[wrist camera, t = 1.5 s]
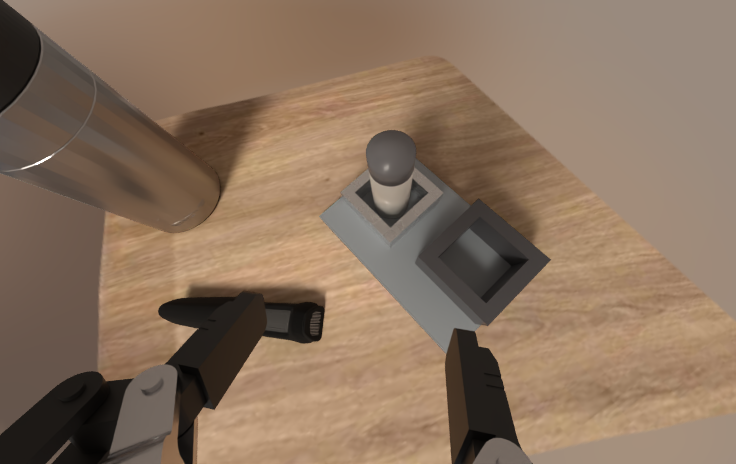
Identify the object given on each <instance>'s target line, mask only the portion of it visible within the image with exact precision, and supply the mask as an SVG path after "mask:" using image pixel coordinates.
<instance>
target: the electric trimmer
mask: <svg viewBox="0 0 736 464" xmlns="http://www.w3.org/2000/svg"><path fill="white" fill-rule="evenodd" d="M236 298H237V297H198V298H180V299H175V300H172V301H169V302H167V303H164V304H163V305H161V306H160V308H159V310H158V312H159V316H161V317H162V318H164V319H166V320H168V321H170V322H172V323H175V324H179V325H184V326H188V327H193V328H198V329H199V327H200V326H201V325H202V324H203V323H204V322H205V321H207V318H208V317H209V316H210V315H211V314H212V313H213V312H214V311H215V310H216V309H217V308H218V307H220V306H222V305H223V304H225V303H226V302H228V301H232V302H233V301H234V300H235V299H236ZM264 304H265V310H266V315H267V326H266V329H265V331H264V333H263V335H262V336H266V337H272V338H279V339H286V340H292V341H296V342H299V343H311V342H313V341H319V340H320V339H321V335H322V328H323V319H324V307H323V306H318V305H317V304H315V303H311V302H305V303H299V304H291V303H266V302H264Z"/></svg>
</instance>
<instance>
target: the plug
mask: <svg viewBox="0 0 736 464" xmlns="http://www.w3.org/2000/svg"><path fill="white" fill-rule="evenodd" d="M366 157H367V163H368V169H369V176H370V182H371V188H372V194H373V200H374V206H375V209H376V211H377V212H378V213H379V214H380V215H381V216H383V217H385V218H388V219H394V218H398V217H400V216H402V215H403V214H404V213H405V212H406V210H407V208H408V205H409V198H410V191H411V185H412V178H413V171H414V165H415V158H416V146H415V143H414V142H413V140H412V139H411V138H410V137H409V136H408V135H407V134H405V133H403V132H401V131H396V130H388V131H383V132H381V133H378V134H377V135H375V136H374V137H373V138H372V139H371V140H370V142H369V143H368V145H367V148H366Z"/></svg>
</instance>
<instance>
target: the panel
mask: <svg viewBox="0 0 736 464" xmlns="http://www.w3.org/2000/svg"><path fill="white" fill-rule="evenodd" d="M414 167H415V168H416V169H417V170H418V171H420V172H421V173H422V174H423V175H424V176H425V177H426V178H427V179H429V180H430V181H431V182H432V183H433V184H434V185H435V186H437V187H438V188H439V189H440V190H441V191H442V192H443V193H444V194H443V196H442V198H441V201H440V203H439V204H438V205H437V206H436V207H435V208H433V209H432V210H431V211H430V212H429V213H428V214H427V215H426V216H425V217H424V218H423V219H422V220H421V221H419V222H418V223H417V224H416V225H415V226H414V227H413V228H412V229H411V230H410V231H409V232H408V233H407V234H406V235H404V236H403V237H402V238H401V239H400V240H399V241H398V242H397V243H396V244H395V245H394V246H393V247H392V248H389V247H388V246H387V245H386V244H385V243H384V242H383V241H382V240H381V239H380V238H379V237H378V236H377V235H376V234H375V232H374V231H373V230H372V229H371V228H370V227H369V226H368V225H367V224H366V223H365V222H364V221H363V220H362V219H361V218H360V217H359V216H358V215H357V214H356V213H355V212H354V211H353V210H352V209H351V208H350V207H349V206H348V205H347V204H346V203H345V202H344V199H343V197H341V198H340V199H339V200H337V201H336V202H335V203H334V204H333V205H332V206H330V207H329V208H328V209H327V210H326V211H325V212H324V213H322V214H321V215H320V216H319V217H320V218H321V219H322V220H323V221H324V222H325V224H326V225H327V226H328V227H329V228H330V229H331V230H332V231H333V232H334V233H335V234H336V235H337V237H338V238H339V239H340V240H341V241H342V242H343V243H344V244H345V245H346V246H347V247H348V248H349V249H350V251H351V252H352V253H353V254H354V255H355V256H356V257H357V258H358V259H359V260H360V261H361V262H362V264H363V265H364V266H365V267H366V268H367V269H368V270H369V271H370V272H371V273H372V274H373V275H374V276H375V278H376V279H377V280H378V281H379V282H380V283H381V284H382V285H383V286H384V287H385V288H386V289H387V291H388V292H389V293H390V294H391V295H392V296H393V297H394V298H395V299H396V300H397V301H398V302H399V303H400V305H401V306H402V307H403V308H404V309H405V310H406V311H407V312H408V313H409V314H410V315H411V316H412V318H413V319H414V320H415V321H416V322H417V323H418V324H419V325H420V326H421V327H422V328H423V329H424V330H425V332H426V333H427V334H428V335H429V336H430V337H431V338H432V339H433V340H434V341H435V342H436V343H437V345H438V346H439V347H440V348H441V349H442V350H443V351H444V352H445V353H446V354H447V350H448V346H449V343H450V339H451V336H452V332H453V330H454V328H458V329H464V330H470V331H474V332H475V331H476V330H477V329H478V327H479V326H480V325H479V324H475V323H474V322H473V321H472V320H471V319H470V318H469V317H468V316H467V315H466V314H465V313H464V312H463V311H462V310H461V309H460V308H459V307H458V306H457V305H456V304H455V303H454V302H453V301H452V300H451V299H450V298H449V297H448V296H447V295H446V294H445V293H444V292H443V291H442V290H441V289H440V288H439V287H438V286H437V285H436V284H435V283H434V282H433V281H432V280H431V279H430V278H429V277H428V276H427V275H426V274H425V273H424V272H423V271H422V270H421V269H420V268H419V267H418V266H417V265H416V264H415V262H416V259H417V257H418V256H419V255H420V254H421V253H422V252H423V251H424V250H425V249H426V248H427V247H428V246H429V245H430V244H431V243H432V242H434V241H435V240H436V239H437V238H438V237H439V236H440V235H441V234H442V233H443V232H444V231H445V230H446V229H447V228H448V227H449V226H450V225H451V224H452V223H453V222H455V221H456V220H457V219H458V218H459V217H460V216H461V215H462V214H463V213H464V212H465V211H466V210H467V209H468V208H469V207H470V205H469V204H468V203H467V202H466V201H465V200H464V199H462V198H461V197H460V196H459V195H458V194H457V193H455V192H454V191H453V190H452V189H451V188H450V187H449V186H447V185H446V184H445V183H444V182H443V181H442V180H440V179H439V178H438V177H437V176H436V175H435V174H433V173H432V172H431V171H430V170H429V169H428V168H427V167H425V166H424V165H423V164H422V163H421V162H420V161H418V160H417V159H416V158H415V165H414ZM362 200H363V201H364V202H365V203H366V204H367V205H368V206H369V207H370V208H371V209H372V210H373V211H374V212H375V213H376V214H377V215H378V216H379V217H380V218H381V219H382V220H383V221H384V222H385V223H386V224H387V225H388V226H389V227H390V228H391V227H392V226H393V225H394V224H395V223H396V222H397V221H398V220H399V219H401V218H402V217H403V216H404V215H405V214H406V213H407V212H408V211H409V210H410V209H411V208H413V207H414V206H415V205H416V204H417V203H418V202H419V201H420V200H421V198H420V197H419V196H418V195H416V194H415V193H414V192H413V191H412V190H411V191H410V198H409V205H408V208H407V210H406V212H405V213H404V214H403V215H402V216H400V217H398V218H394V219H388V218H385V217H383V216H381V215H380V214H379V213H378V212H377V211H376V209H375V206H374V200H373V194H372V190H371V191H370V192H369V193H368V194H367V195H366V196H364V197H363V198H362ZM439 258H440V259H441V260H442V261H443V262H444V263H445V264H446V265H447V266H448V267H449V268H450V269H451V270H452V271H453V272H454V273H455V274H456V275H457V276H458V277H459V278H460V279H461V280H463V281H464V282H465V283H466V284H467V285H468V286H469V287H470V288H471V289H472V290H473V291H474V292H475V293H476V294H477V295H478V296H479V297H480V298H481V297H482V296H483V295H484V294H485V293H486V292H487V291H488V290H489V289H490V288H491V287H492V286H493V285H494V284H495V283H496V281H497V280H498V279H499V278H500V277H501V276H502V275H503V274H504V273H505V272H506V271H507V270H508V269H509V268H510V267H511V265H510V264H509V263H508V262H506V261H505V260H504V259H503V258H502V257H501V256H500V255H499V254H497V253H496V252H495V251H494V250H493V249H492V248H491V247H490V246H489V245H487V244H486V243H485V242H484V241H483V240H482V239H481V238H480V237H478V236H477V235H476V234H475V233H474V232H473V231H472V230H471V229H470V228H469V229H468V230H467V231H466V232H465V233H464V234H463V235H462V236H461V237H460V238H459V239H458V240H457V241H456V242H455V243H453V244H452V245H451V246H450V247H449V248H448V249H447V250H446V251H445V252H444V253H443V254H442V255H441V256H440V257H439Z"/></svg>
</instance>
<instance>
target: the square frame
mask: <svg viewBox="0 0 736 464" xmlns="http://www.w3.org/2000/svg"><path fill="white" fill-rule="evenodd" d="M371 190H372V188H371V182H370V176H369V169H367V170H366V171H365V172H363V173H362V174H361V175H360V176H359V177H358V178H356V179H355V180H354V181H353V182H352V183H351V184H350V185H348V186H347V187H346V188H345V189H344V190H343V191H341V195H342V197H343V199H344V202H345V203H346V204H347V205H348V206H349V207H350V208H351V209H352V210H353V211H354V212H355V213H356V214H357V215H358V216H359V217H360V218H361V219H362V220H363V221H364V222H365V223H366V224H367V225H368V226H369V227H370V228H371V229H372V230H373V231H374V232H375V234H376V235H377V236H378V237H379V238H380V239H381V240H382V241H383V242H384V243H385V244H386V245H387V246H388V247H389V248H392V247H393V246H394V245H395V244H396V243H397V242H398V241H399V240H400V239H401V238H402V237H403V236H404V235H406V234H407V233H408V232H409V231H410V230H411V229H412V228H413V227H414V226H415V225H416V224H417V223H418V222H419V221H421V220H422V219H423V218H424V217H425V216H426V215H427V214H428V213H429V212H430V211H431V210H432V209H433V208H435V207H436V206H437V205H438V204H439V203H440V201H441V198H442V196H443V194H444V193H443V192H442V191H441V190H440V189H439V188H438V187H437V186H435V185H434V184H433V183H432V182H431V181H430V180H429V179H427V178H426V177H425V176H424V175H423V174H422V173H421V172H420V171H418V170H417V169H416V168H415V167H414V171H413V178H412V185H411V190H412V191H413V192H414V193H415V194H416V195H418V196H419V197H420V198H421V200H420V201H419V202H418V203H417V204H416V205H415V206H414V207H413V208H411V209H410V210H409V211H408V212H407V213H406V214H405V215H404V216H403V217H402V218H401V219H399V220H398V221H397V222H396V223H395V224H394V225H393V226H392V227H391V228H390V227H389V226H388V225H387V224H386V223H385V222H384V221H383V220H382V219H381V218H380V217H379V216H378V215H377V214H376V213H375V212H374V211H373V210H372V209H371V208H370V207H369V206H368V205H367V204H366V203H365V202H364V201H363V200H362V198H363V197H364V196H366V195H367V194H368V193H369V192H370V191H371Z"/></svg>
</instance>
